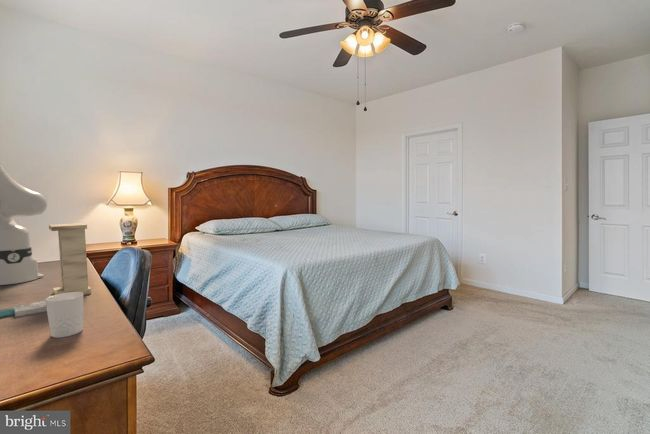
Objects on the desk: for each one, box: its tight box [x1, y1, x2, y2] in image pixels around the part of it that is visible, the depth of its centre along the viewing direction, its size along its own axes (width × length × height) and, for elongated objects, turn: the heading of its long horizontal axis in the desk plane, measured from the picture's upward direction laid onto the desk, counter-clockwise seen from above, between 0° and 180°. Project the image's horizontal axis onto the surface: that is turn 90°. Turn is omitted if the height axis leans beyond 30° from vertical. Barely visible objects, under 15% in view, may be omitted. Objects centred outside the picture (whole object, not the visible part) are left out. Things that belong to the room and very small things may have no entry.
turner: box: [0, 300, 47, 318], centre depth 101 cm, size 20×8×2 cm, turn 135°
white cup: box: [45, 292, 84, 339], centre depth 87 cm, size 8×8×10 cm
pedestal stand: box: [48, 222, 92, 296], centre depth 123 cm, size 12×10×26 cm
